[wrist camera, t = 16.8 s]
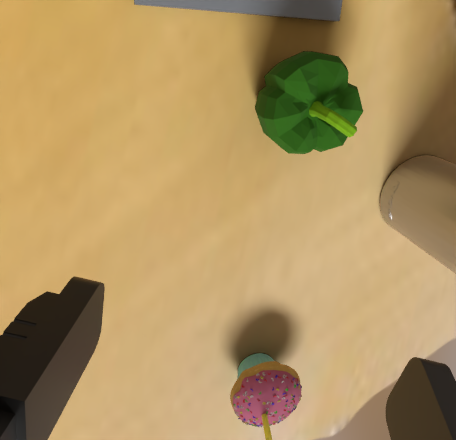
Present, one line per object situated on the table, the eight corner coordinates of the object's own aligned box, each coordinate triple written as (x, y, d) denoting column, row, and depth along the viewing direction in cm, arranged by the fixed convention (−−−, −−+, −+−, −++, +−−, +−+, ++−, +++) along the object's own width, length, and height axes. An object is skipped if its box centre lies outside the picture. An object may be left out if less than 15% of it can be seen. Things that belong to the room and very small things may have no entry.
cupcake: (249, 402, 55) (279, 490, 44) (208, 370, 51) (230, 458, 41) (299, 363, 54) (342, 443, 44) (262, 327, 51) (298, 405, 40)
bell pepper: (226, 87, 38) (256, 103, 30) (299, 32, 38) (352, 30, 29) (272, 157, 42) (311, 190, 33) (339, 108, 42) (397, 127, 33)
